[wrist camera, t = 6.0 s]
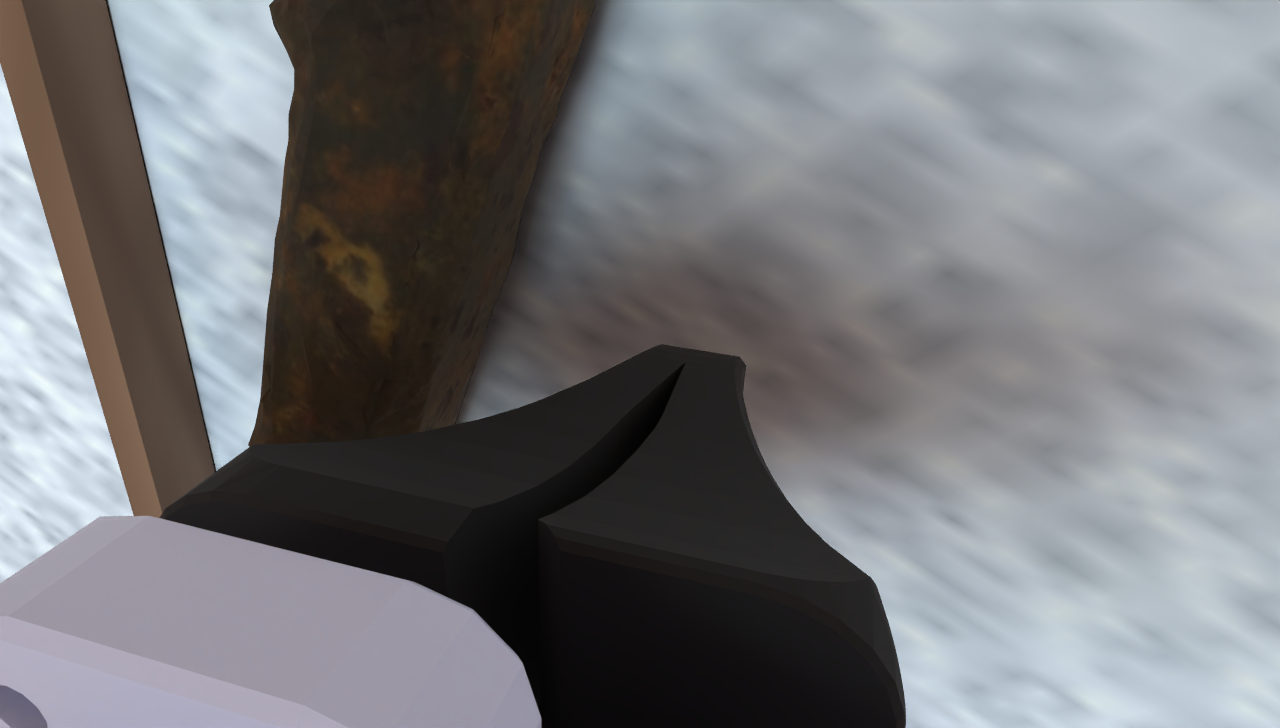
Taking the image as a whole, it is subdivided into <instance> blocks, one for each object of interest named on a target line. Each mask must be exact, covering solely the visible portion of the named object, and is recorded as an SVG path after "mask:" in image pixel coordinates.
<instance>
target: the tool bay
mask: <svg viewBox="0 0 1280 728" xmlns="http://www.w3.org/2000/svg"><path fill="white" fill-rule="evenodd" d="M0 63H1V67H2V70H3V73H4V77H5V80H6V84H7V87H8V90H9V94H10V97H11V101H12V104H13V107H14V111H15V114H16V117H17V121H18V124H19V128H20V131H21V134H22V138H23V141H24V145H25V148H26V151H27V155H28V158H29V162H30V165H31V168H32V172H33V175H34V179H35V182H36V185H37V189H38V192H39V196H40V199H41V202H42V206H43V209H44V212H45V216H46V219H47V223H48V226H49V229H50V233H51V236H52V240H53V243H54V246H55V250H56V253H57V257H58V260H59V263H60V267H61V270H62V274H63V277H64V280H65V284H66V287H67V290H68V294H69V297H70V301H71V304H72V307H73V311H74V314H75V318H76V321H77V324H78V328H79V331H80V335H81V338H82V341H83V345H84V348H85V352H86V355H87V358H88V362H89V365H90V369H91V372H92V375H93V379H94V382H95V385H96V389H97V392H98V396H99V399H100V402H101V406H102V409H103V413H104V416H105V419H106V423H107V426H108V430H109V433H110V436H111V440H112V443H113V447H114V450H115V453H116V457H117V460H118V464H119V467H120V470H121V474H122V477H123V480H124V484H125V487H126V491H127V494H128V497H129V501H130V504H131V508H132V511H133V514H134V516H152V517H156V518H160V516H161V514H162V513H163V511H164V510H165V508H167V507H168V506H169V505H171V504H172V503H174V502H175V501H176V500H178V499H179V498H180V497H182V496H183V495H185V494H186V493H187V492H189V491H190V490H191V489H193V488H194V487H196V486H197V485H198V484H200V483H201V482H202V481H204V480H205V479H207V478H208V477H209V476H211V475H212V474H213V473H215V470H214V466H213V461H212V457H211V453H210V448H209V444H208V440H207V435H206V431H205V427H204V422H203V418H202V414H201V409H200V405H199V401H198V397H197V392H196V388H195V384H194V379H193V375H192V371H191V366H190V362H189V358H188V353H187V349H186V345H185V340H184V336H183V332H182V328H181V323H180V319H179V315H178V310H177V306H176V302H175V297H174V293H173V289H172V284H171V280H170V276H169V271H168V267H167V263H166V259H165V254H164V250H163V246H162V241H161V237H160V233H159V228H158V224H157V220H156V215H155V211H154V207H153V202H152V198H151V194H150V190H149V185H148V181H147V177H146V172H145V168H144V164H143V159H142V155H141V151H140V146H139V142H138V138H137V133H136V129H135V125H134V121H133V116H132V112H131V108H130V103H129V99H128V95H127V90H126V86H125V82H124V77H123V73H122V69H121V65H120V60H119V56H118V52H117V47H116V43H115V39H114V34H113V30H112V26H111V21H110V17H109V13H108V8H107V4H106V0H0Z"/></svg>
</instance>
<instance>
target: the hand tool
mask: <svg viewBox="0 0 1280 728" xmlns="http://www.w3.org/2000/svg"><path fill="white" fill-rule="evenodd" d="M269 7H270V11H271V16H272V20H273V24H274V27H275V29H276V31H277V33H278V35H279V37H280V39H281V41H282V42H283V44H284V46H285V48H286V50H287V53H288V55H289V57H290V60H291V62H292V65H293V67H294V70H295V71H294V93H293V97H292V102H291V106H290V111H289V141H288V146H287V152H286V158H285V166H284V177H283V188H282V199H281V210H280V218H279V223H278V228H277V233H276V238H275V247H274V260H273V273H272V280H271V288H270V295H269V302H268V309H267V321H266V335H265V348H264V361H263V375H262V386H261V398H260V404H259V409H258V414H257V419H256V424H255V427H254V430H253V433H252V436H251V439H250V442H249V444H248V445H249V446H250V447H251V446H252V445H254V444H291V443H318V442H340V441H352V440H363V439H372V438H381V437H390V436H397V435H404V434H411V433H417V432H423V431H428V430H433V429H438V428H442V427H447V426H452V425H455V422H456V419H457V416H458V413H459V410H460V407H461V404H462V401H463V398H464V395H465V393H466V390H467V387H468V384H469V381H470V378H471V376H472V373H473V370H474V368H475V365H476V362H477V359H478V356H479V353H480V349H481V346H482V343H483V340H484V336H485V333H486V330H487V326H488V323H489V320H490V316H491V313H492V310H493V307H494V305H495V302H496V300H497V298H498V295H499V293H500V291H501V288H502V286H503V283H504V280H505V278H506V275H507V273H508V270H509V267H510V264H511V261H512V258H513V254H514V250H515V244H516V238H517V233H518V228H519V223H520V219H521V214H522V210H523V207H524V204H525V201H526V198H527V195H528V192H529V190H530V187H531V184H532V181H533V178H534V175H535V172H536V169H537V165H538V161H539V157H540V153H541V149H542V146H543V144H544V142H545V140H546V138H547V135H548V133H549V131H550V129H551V127H552V125H553V123H554V120H555V118H556V116H557V113H558V107H559V101H560V99H561V96H562V94H563V91H564V88H565V86H566V83H567V81H568V78H569V75H570V73H571V70H572V68H573V65H574V62H575V60H576V57H577V54H578V51H579V48H580V46H581V43H582V40H583V37H584V35H585V32H586V29H587V26H588V24H589V21H590V18H591V15H592V12H593V10H594V7H595V0H274V1H273V2H272V3H271V4H270V5H269Z"/></svg>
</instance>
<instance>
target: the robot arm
mask: <svg viewBox="0 0 1280 728" xmlns="http://www.w3.org/2000/svg"><path fill="white" fill-rule="evenodd" d="M745 369H746V365H745V363H744V362H743V361H742V359H741V358H740V357H737V356H731V355H724V354H718V353H712V352H706V351H700V350H693V349H687V348H681V347H675V346H668V345H662V344H661V345H658V346H655V347H653V348H651V349H649V350H646V351H644V352H642V353H640V354H638V355H636V356H634V357H632V358H631V359H629V360H627V361H625V362H623V363H621V364H619V365H617V366H615V367H613V368H611V369H609V370H607V371H605V372H603V373H601V374H599V375H597V376H595V377H593V378H591V379H589V380H586V381H584V382H582V383H579V384H577V385H575V386H572V387H570V388H568V389H565V390H563V391H561V392H558V393H556V394H554V395H551V396H549V397H547V398H545V399H542V400H539V401H537V402H534V403H531V404H528V405H526V406H523V407H520V408H517V409H514V410H510V411H507V412H504V413H500V414H497V415H494V416H490V417H487V418H483V419H479V420H475V421H470V422H466V423H461V424H456V425H452V426H447V427H442V428H438V429H433V430H428V431H423V432H417V433H411V434H404V435H397V436H390V437H381V438H372V439H363V440H352V441H340V442H318V443H291V444H254V445H252V446H251V447H249V448H248V449H246V450H245V451H244V452H242V453H241V454H240V455H238V456H237V457H235V458H234V459H233V460H231V461H230V462H229V463H227V464H226V465H224V466H223V467H222V468H220V469H219V470H218V471H216V472H215V473H213V474H212V475H211V476H209V477H208V478H207V479H205V480H204V481H202V482H201V483H200V484H198V485H197V486H196V487H194V488H193V489H191V490H190V491H189V492H187V493H186V494H185V495H183V496H182V497H180V498H179V499H178V500H176V501H175V502H174V503H172V504H171V505H169V506H168V507H167V508H165V510H164V511H163V513H162V514H161V516H160V518H156V517H152V516H110V517H99V518H97V519H96V520H94V521H93V522H91V523H90V524H88V525H87V526H85V527H84V528H82V529H81V530H79V531H78V532H76V533H75V534H74V535H72V536H71V537H69V538H68V539H66V540H65V541H63V542H62V543H60V544H59V545H57V546H56V547H54V548H53V549H51V550H50V551H48V552H47V553H45V554H44V555H42V556H41V557H39V558H38V559H36V560H35V561H33V562H32V563H30V564H29V565H27V566H26V567H24V568H23V569H21V570H20V571H18V572H17V573H15V574H14V575H12V576H11V577H9V578H8V579H6V580H5V581H3V582H2V583H0V728H905V726H906V709H905V698H904V691H903V685H902V679H901V673H900V668H899V663H898V658H897V653H896V649H895V645H894V641H893V638H892V634H891V630H890V627H889V623H888V620H887V617H886V613H885V610H884V607H883V604H882V601H881V598H880V595H879V592H878V589H877V586H876V584H875V583H874V581H873V580H872V578H871V577H869V576H868V575H867V574H866V573H864V572H863V571H862V570H860V569H859V568H858V567H856V566H855V565H854V564H853V563H851V562H850V561H849V560H847V559H846V558H845V557H843V556H842V555H841V554H839V553H838V552H837V551H836V550H834V549H833V548H832V547H830V546H829V545H828V544H827V543H826V542H825V541H824V540H823V539H822V538H821V537H820V536H819V535H818V534H817V533H816V532H814V531H813V530H812V529H811V528H810V527H809V526H808V525H807V524H806V523H805V522H804V520H803V519H802V518H801V517H800V515H799V514H798V513H797V512H796V510H795V509H794V508H793V507H792V506H791V504H790V503H789V502H788V500H787V499H786V498H785V496H784V494H783V493H782V491H781V490H780V488H779V487H778V485H777V483H776V482H775V480H774V478H773V477H772V475H771V473H770V471H769V469H768V467H767V466H766V464H765V461H764V459H763V457H762V455H761V453H760V450H759V448H758V446H757V443H756V440H755V438H754V435H753V432H752V429H751V426H750V423H749V420H748V416H747V412H746V407H745V403H744V398H743V386H744V378H745Z"/></svg>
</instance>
